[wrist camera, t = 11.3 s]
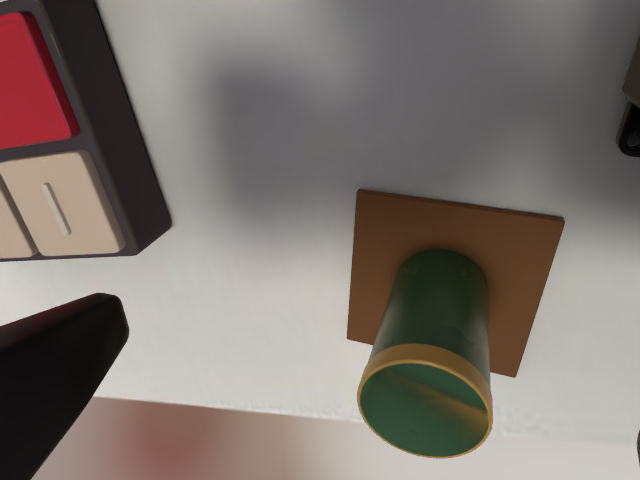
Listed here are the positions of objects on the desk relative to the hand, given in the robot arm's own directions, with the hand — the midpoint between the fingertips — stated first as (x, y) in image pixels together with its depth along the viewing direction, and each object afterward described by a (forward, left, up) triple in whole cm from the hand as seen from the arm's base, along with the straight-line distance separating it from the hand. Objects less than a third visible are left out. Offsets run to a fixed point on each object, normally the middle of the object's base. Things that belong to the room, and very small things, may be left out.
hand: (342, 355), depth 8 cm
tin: (-2, +6, -12) cm, 13 cm away
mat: (-1, +6, -12) cm, 13 cm away
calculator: (+20, +2, -12) cm, 24 cm away
